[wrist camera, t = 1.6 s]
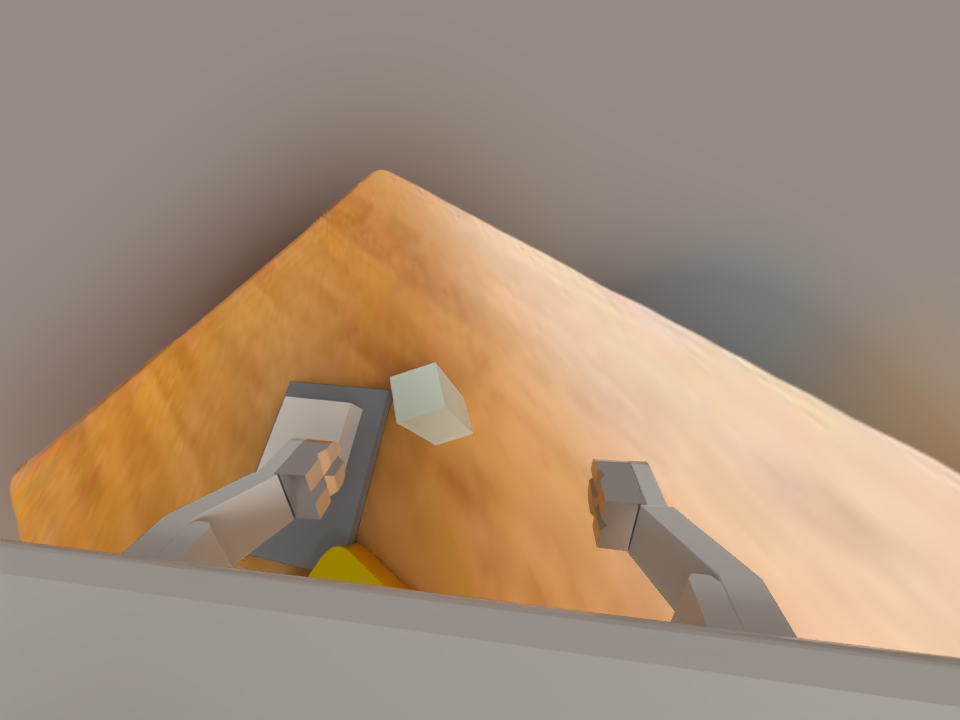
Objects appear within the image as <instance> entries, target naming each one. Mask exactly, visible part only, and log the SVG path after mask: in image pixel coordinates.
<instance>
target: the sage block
mask: <svg viewBox="0 0 960 720" xmlns="http://www.w3.org/2000/svg"><path fill="white" fill-rule="evenodd" d="M390 382H391V389H392V396H393V403H394V409H395V416H396V423H397V424H399V425H401V426H403V427H404V428H406V429H408V430H410V431H411V432H413V433H415V434H417V435H418V436H420V437H422V438H424V439H425V440H427V441H429V442H431V443H432V444H434V445H439V444H442V443H445V442H449V441H452V440H455V439H458V438H461V437H465V436H468V435H471V434H473V432H472V428H471V424H470V420H469V416H468V412H467V408H466V404H465V400H464V397H463V396H462V395H461V394H460V392H459V391H458V390H457V389H456V387H455V386H454V385H453V383H452V382H451V381H450V380H449V378H448V377H447V376H446V375H445V373H444V372H443V371H442V370H441V368H440V367H439V366H438V365H437V363H436V362H434V363H431V364H428V365H425V366H422V367H419V368H416V369H413V370H410V371H407V372H404V373H401V374H398V375H395V376H392V377H390Z"/></svg>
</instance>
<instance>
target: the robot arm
mask: <svg viewBox="0 0 960 720" xmlns="http://www.w3.org/2000/svg"><path fill="white" fill-rule="evenodd" d="M340 452H341V449H340V446H339V443H337V442H334V441H323V440H312V439H298V438H293V439H290V440H289V441H288V442H287V443H286V444H285V445H284V446H283V447H282V448H281V449H280V450H279V451H278V452H277V453H276V454H275V455H274V456H273V457H272V458H271V459H270V460H269V461H268V462H267V463H266V464H265V465H264V466H263V467H262V468H261V469H260V470H259V471H258V472H257V473H251V474H249V475H246V476H244V477H242V478H240V479H238V480H236V481H234V482H232V483H230V484H228V485H226V486H224V487H222V488H220V489H218V490H216V491H214V492H212V493H210V494H208V495H206V496H204V497H202V498H200V499H198V500H196V501H194V502H192V503H190V504H188V505H186V506H183V507H181V508H179V509H177V510H175V511H173V512H171V513H169V514H167V515H165V516H164V517H163V518H161V519H160V520H159V521H158V522H157V523H156V524H155V525H154V526H152V527H151V528H150V529H149V530H148V531H147V532H146V533H145V534H143V535H142V536H141V537H140V538H139V539H138V540H137V541H136V542H134V543H133V544H132V545H131V546H130V547H129V548H128V549H127V550H125V551H124V552H123V553H122V554H119V553H110V552H102V551H94V550H86V549H78V548H70V547H62V546H54V545H46V544H38V543H29V542H22V541H15V540H9V539H0V720H960V658H959V657H950V656H942V655H934V654H926V653H918V652H909V651H901V650H893V649H885V648H877V647H869V646H861V645H852V644H844V643H836V642H828V641H820V640H812V639H804V638H797V637H796V635H795V633H794V632H793V630H792V628H791V627H790V625H789V623H788V622H787V620H786V618H785V617H784V615H783V613H782V612H781V610H780V608H779V606H778V605H777V603H776V601H775V600H774V598H773V596H772V595H771V593H770V591H769V590H768V588H767V586H766V585H765V583H764V581H763V580H762V579H761V578H760V577H759V576H757V575H756V574H755V573H754V572H753V571H751V570H750V569H749V568H748V567H746V566H745V565H744V564H743V563H741V562H740V561H739V560H738V559H737V558H735V557H734V556H733V555H732V554H730V553H729V552H728V551H727V550H725V549H724V548H723V547H722V546H720V545H719V544H718V543H717V542H716V541H714V540H713V539H712V538H711V537H709V536H708V535H707V534H706V533H704V532H703V531H702V530H701V529H700V528H698V527H697V526H696V525H695V524H693V523H692V522H691V521H690V520H688V519H687V518H686V517H685V516H684V515H682V514H681V513H680V512H679V511H677V510H676V509H675V508H674V507H668V506H667V504H666V501H665V499H664V497H663V495H662V492H661V490H660V488H659V486H658V483H657V481H656V479H655V477H654V474H653V472H652V470H651V468H650V465H649V464H648V463H647V462H639V461H617V460H600V459H593V462H592V466H591V472H592V477H593V478H591V479H590V480H589V486H588V502H589V509H590V513H591V514H592V515H593V516H594V521H593V531H594V536H595V541H596V546H597V547H599V548H607V549H614V550H622V551H629V552H628V553H629V554H630V556H631V557H632V558H633V559H634V561H635V562H636V563H637V564H638V566H639V567H640V568H641V569H642V571H643V572H644V573H645V574H646V576H647V577H648V578H649V579H650V581H651V582H652V583H653V584H654V586H655V587H656V588H657V589H658V591H659V592H660V593H661V595H662V596H663V597H664V598H665V600H666V601H667V602H668V603H669V605H670V606H671V607H672V608H673V610H674V611H675V613H674V615H673V618H672V620H671V622H667V621H659V620H651V619H643V618H635V617H627V616H619V615H611V614H603V613H595V612H587V611H578V610H570V609H562V608H554V607H546V606H538V605H530V604H522V603H513V602H505V601H497V600H489V599H481V598H473V597H464V596H456V595H448V594H440V593H432V592H424V591H416V590H408V589H400V588H392V587H384V586H376V585H368V584H360V583H352V582H344V581H336V580H328V579H320V578H312V577H304V576H296V575H288V574H280V573H272V572H264V571H255V570H247V569H239V568H235V567H234V565H235V564H237V563H238V562H239V561H240V560H242V559H243V558H244V557H246V556H247V555H248V554H250V553H251V552H252V551H254V550H255V549H256V548H257V547H259V546H260V545H261V544H263V543H264V542H265V541H267V540H268V539H269V538H271V537H272V536H273V535H275V534H276V533H277V532H278V531H280V530H281V529H282V528H284V527H285V526H286V525H288V524H289V523H290V522H292V521H293V520H294V518H305V519H319V520H320V519H321V517H322V516H323V514H324V513H325V511H326V509H327V508H328V506H329V505H330V503H331V497H330V496H331V495H333V494H334V493H336V492H337V491H339V489H340V487H341V486H342V484H343V481H344V478H345V464H344V461H343V460H342V459H341V458H340V457H339V456H338V455H339V454H340Z"/></svg>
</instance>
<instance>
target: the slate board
mask: <svg viewBox="0 0 960 720" xmlns="http://www.w3.org/2000/svg"><path fill="white" fill-rule="evenodd" d="M391 400H392V392H390V391H389V390H382V389H371V388H359V387H348V386H336V385H325V384H314V383H302V382H291V381H290V384H289V386H288V389H287V391H286V394H285V397H284V399H283V402H282V404H281V407H280V410H279V412H278V415H277V417H276V420H275V423H274V425H273V428H272V430H271V433H270V436H269V438H268V441H267V443H266V446H265V449H264V451H263V454H262V457H261V459H260V462H259V464H258V467H257V470H256V472H255V473H257V472H258V471H259V470H260V469H261V468H262V467H263V466H264V465H265V464H266V463H267V462H268V461H269V460H270V459H271V458H272V457H273V456H274V455H275V454H276V453H277V452H278V451H279V450H280V449H281V448H282V447H283V446H284V445H285V444H286V443H287V442H288V441H289V440H290V439H293V438H298V439H312V440H323V441H334V442H337V443H339V446H340V449H341V452H340V454H339V455H338V456H339V457H340V458H341V459H342V460H343V461H344V464H345V478H344V481H343V484H342V486H341V487H340V489H339V491H337V492H336V493H334V494H333V495H331V496H330V497H331V503H330V505H329V506H328V508H327V509H326V511H325V513H324V514H323V516H322V517H321V519H320V520H319V519H305V518H294V520H293V521H292V522H290V523H289V524H288V525H286V526H285V527H284V528H282V529H281V530H280V531H278V532H277V533H276V534H275V535H273V536H272V537H271V538H269V539H268V540H267V541H265V542H264V543H263V544H261V545H260V546H259V547H257V548H256V549H255V550H254V551H252V552H251V553H250V554H248V555H252V556H256V557H260V558H264V559H268V560H272V561H276V562H280V563H285V564H289V565H293V566H297V567H301V568H305V569H309V570H313V568H314V567H315V566H316V564H317V563H318V561H319V560H320V558H321V557H322V556H323V555H324V553H325V552H326V551H328V550H329V549H330V548H332V547H334V546H339V545H345V544H352V543H355V539H356V535H357V531H358V527H359V523H360V520H361V516H362V512H363V508H364V504H365V500H366V496H367V493H368V489H369V485H370V481H371V477H372V473H373V469H374V466H375V462H376V458H377V454H378V450H379V446H380V442H381V439H382V435H383V431H384V427H385V423H386V419H387V415H388V411H389V408H390V404H391Z"/></svg>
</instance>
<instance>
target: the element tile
mask: <svg viewBox="0 0 960 720" xmlns="http://www.w3.org/2000/svg"><path fill="white" fill-rule="evenodd" d="M308 577H312V578H320V579H328V580H336V581H344V582H352V583H360V584H368V585H376V586H384V587H392V588H400V589H408V590H410V589H409V588H408V587H407V586H406V585H405V584H404V583H403V582H402V581H401V580H400V579H399V578H398V577H396V576H395V575H394V574H393V573H392V572H391V571H390V570H389V569H388V568H387V567H386V566H385V565H384V564H383V563H382V562H381V561H379V560H378V559H377V558H376V557H375V556H374V555H373V554H372V553H371V552H370V551H369V550H368V549H367V548H366V547H364V546H363V545H361V544H357V543H352V544H345V545H339V546H334V547H332V548H330V549H329V550H328V551H326V552H325V553H324V555H323V556H322V557H321V558H320V560H319V561H318V563H317V564H316V566H315V567H314V568H313V570H312V571H311V573H310V574H309V576H308Z"/></svg>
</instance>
